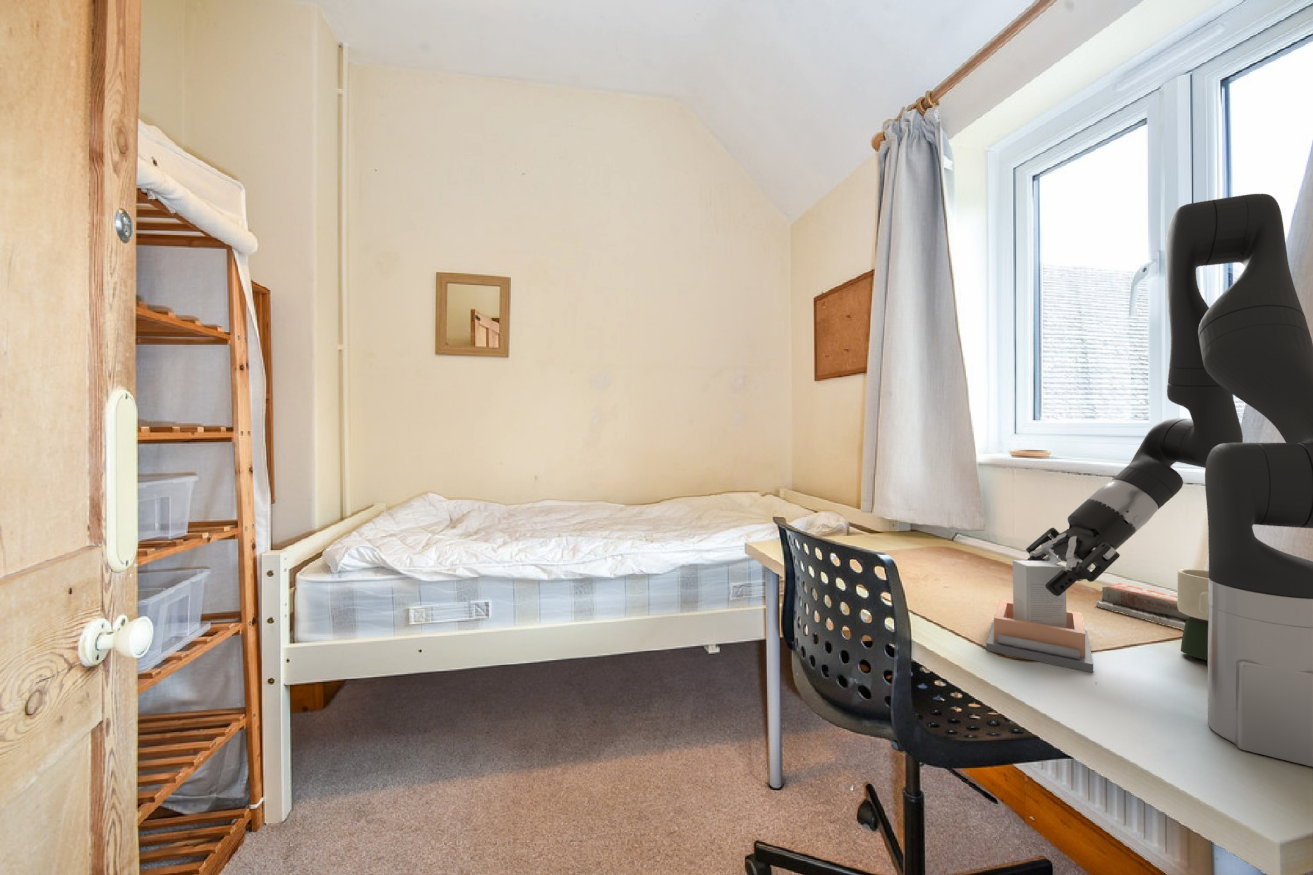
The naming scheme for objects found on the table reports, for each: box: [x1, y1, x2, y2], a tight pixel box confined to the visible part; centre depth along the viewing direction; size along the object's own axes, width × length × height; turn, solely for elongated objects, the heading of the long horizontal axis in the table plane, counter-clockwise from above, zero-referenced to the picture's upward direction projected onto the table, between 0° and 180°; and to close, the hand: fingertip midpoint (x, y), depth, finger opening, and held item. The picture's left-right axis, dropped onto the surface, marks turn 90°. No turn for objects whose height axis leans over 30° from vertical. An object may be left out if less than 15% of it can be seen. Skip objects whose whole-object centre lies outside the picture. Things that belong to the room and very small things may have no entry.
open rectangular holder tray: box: [986, 599, 1094, 674], centre depth 86 cm, size 16×13×5 cm
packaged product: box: [1095, 583, 1191, 629], centre depth 98 cm, size 18×5×10 cm
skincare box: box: [1012, 559, 1067, 628], centre depth 86 cm, size 6×4×12 cm
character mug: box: [1176, 568, 1209, 664], centre depth 80 cm, size 11×7×13 cm, turn 127°
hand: (1034, 583), depth 86 cm, fingers open, 8 cm apart
